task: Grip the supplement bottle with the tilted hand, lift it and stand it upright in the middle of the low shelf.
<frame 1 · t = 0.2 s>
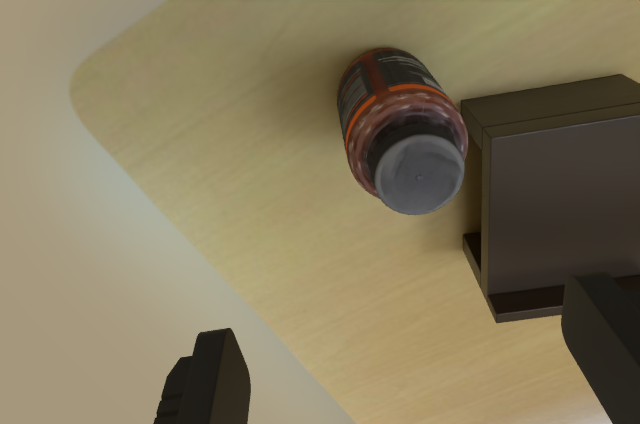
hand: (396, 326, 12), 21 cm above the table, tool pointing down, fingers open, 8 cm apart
shelf: (534, 171, 34), on the table
supplement bottle: (383, 92, 31), on the table
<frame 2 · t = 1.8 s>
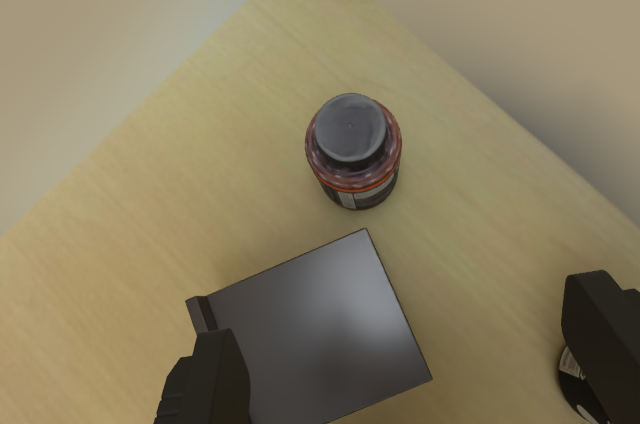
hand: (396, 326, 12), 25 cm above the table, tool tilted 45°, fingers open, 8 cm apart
shelf: (320, 331, 36), on the table
beverage can: (603, 374, 34), on the table
supplement bottle: (358, 175, 38), on the table
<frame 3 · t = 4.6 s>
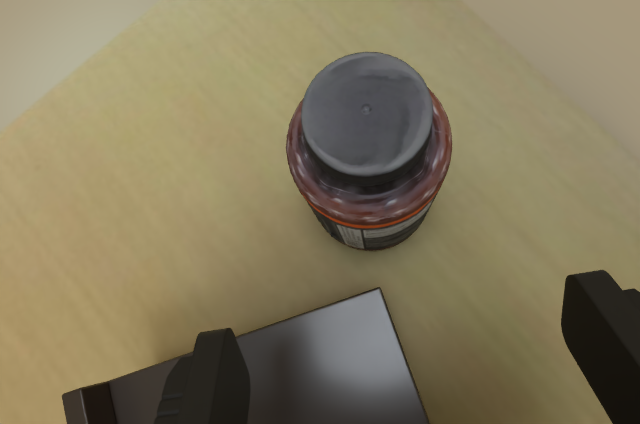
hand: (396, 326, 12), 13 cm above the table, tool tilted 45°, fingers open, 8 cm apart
supplement bottle: (370, 197, 26), on the table
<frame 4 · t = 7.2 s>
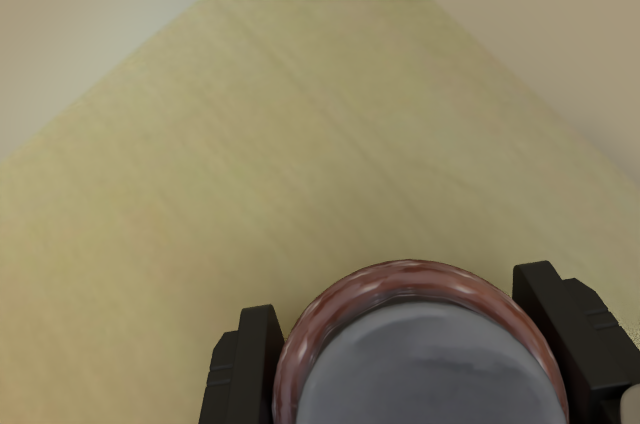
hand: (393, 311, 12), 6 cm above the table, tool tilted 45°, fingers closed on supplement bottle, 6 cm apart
supplement bottle: (398, 363, 18), on the table, touching gripper
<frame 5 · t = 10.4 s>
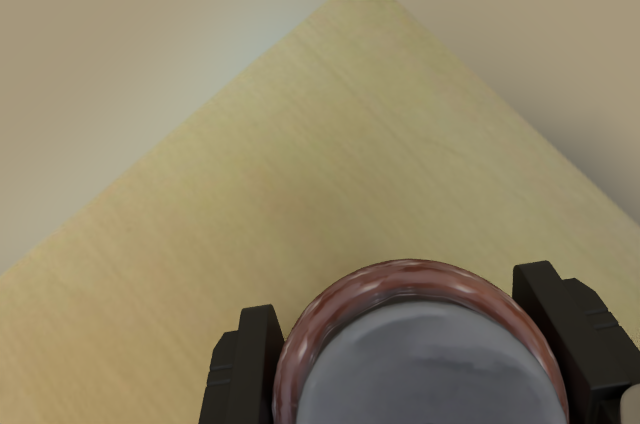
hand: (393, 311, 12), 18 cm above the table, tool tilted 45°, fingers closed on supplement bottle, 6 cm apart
supplement bottle: (398, 363, 18), point 12 cm above the table, touching gripper
when the fingers open (12 cm above the table, at t = 13.7 s): supplement bottle stays where it is, resting on shelf.
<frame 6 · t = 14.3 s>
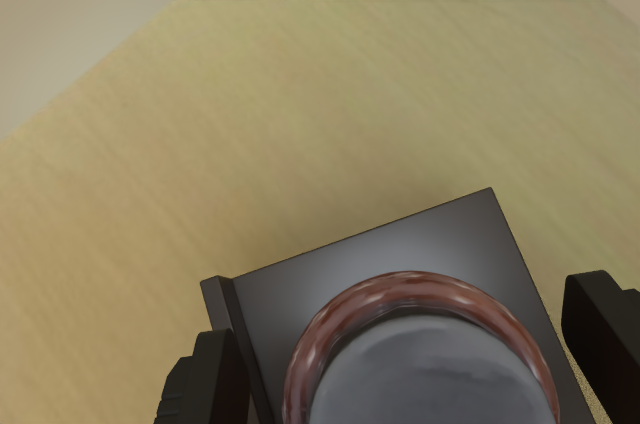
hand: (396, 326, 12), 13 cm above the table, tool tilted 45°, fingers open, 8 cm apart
shelf: (390, 347, 25), on the table
supplement bottle: (398, 365, 19), point 6 cm above the table, touching shelf
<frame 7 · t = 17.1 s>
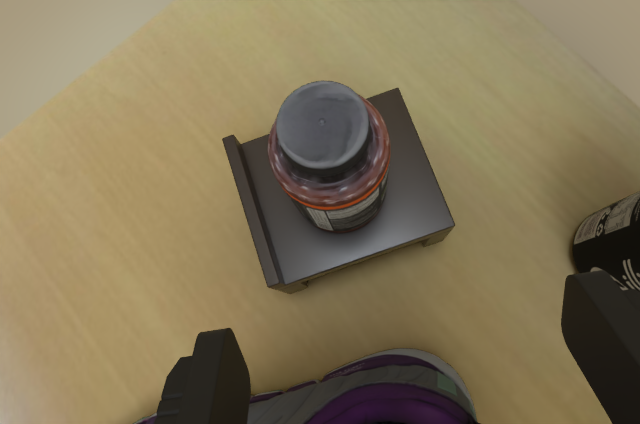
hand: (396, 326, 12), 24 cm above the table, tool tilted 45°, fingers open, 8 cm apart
shelf: (343, 205, 37), on the table
beverage can: (615, 255, 35), on the table
supplement bottle: (340, 190, 32), point 6 cm above the table, touching shelf
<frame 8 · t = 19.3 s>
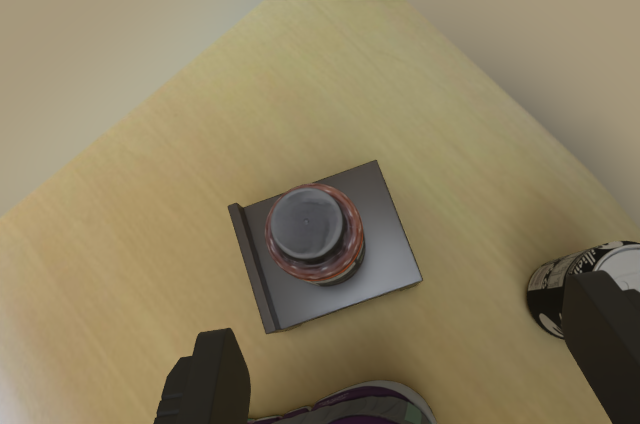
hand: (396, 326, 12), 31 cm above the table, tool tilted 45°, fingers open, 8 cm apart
shelf: (332, 253, 43), on the table
beverage can: (564, 299, 40), on the table
supplement bottle: (327, 248, 38), point 6 cm above the table, touching shelf
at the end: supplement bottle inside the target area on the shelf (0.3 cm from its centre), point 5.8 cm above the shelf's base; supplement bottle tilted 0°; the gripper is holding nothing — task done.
